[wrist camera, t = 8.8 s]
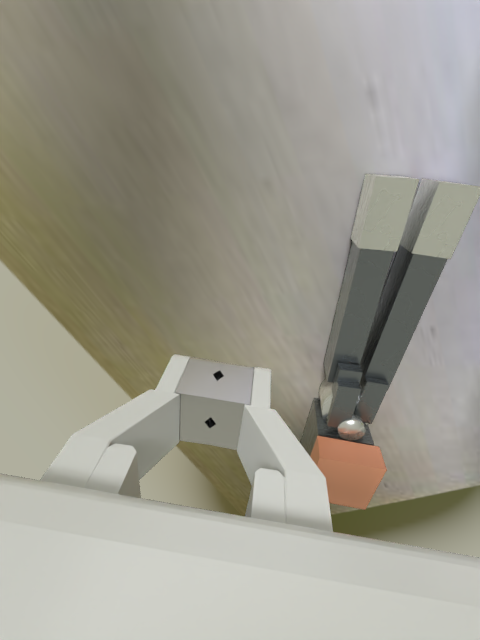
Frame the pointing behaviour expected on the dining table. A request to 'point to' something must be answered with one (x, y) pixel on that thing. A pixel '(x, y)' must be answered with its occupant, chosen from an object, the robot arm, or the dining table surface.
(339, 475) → the tab
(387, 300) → the tongs fixed
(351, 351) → the tongs arm
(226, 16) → the dining table surface
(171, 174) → the dining table surface
